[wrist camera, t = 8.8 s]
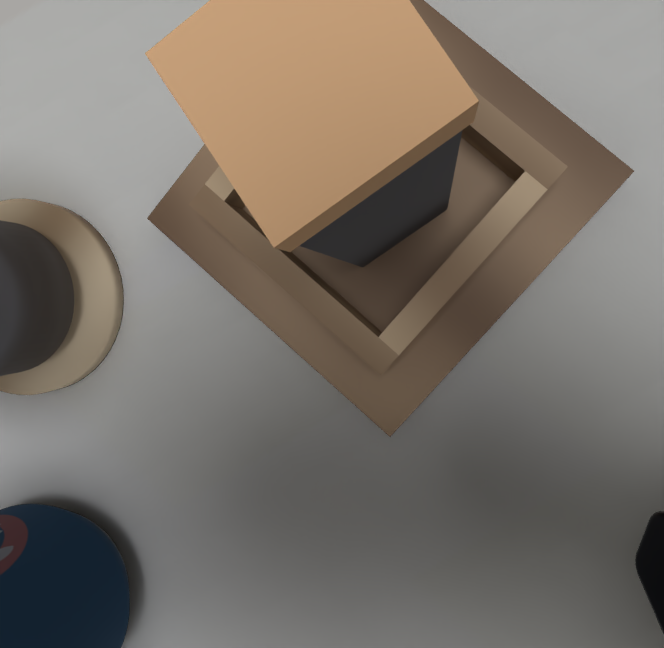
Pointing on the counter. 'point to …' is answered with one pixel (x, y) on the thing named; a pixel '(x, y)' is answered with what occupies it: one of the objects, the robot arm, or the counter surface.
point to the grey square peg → (323, 116)
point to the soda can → (59, 581)
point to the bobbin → (53, 297)
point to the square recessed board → (412, 245)
